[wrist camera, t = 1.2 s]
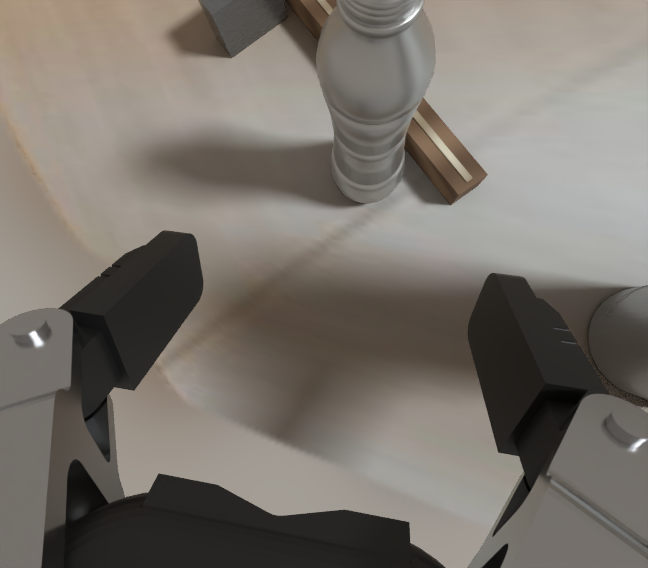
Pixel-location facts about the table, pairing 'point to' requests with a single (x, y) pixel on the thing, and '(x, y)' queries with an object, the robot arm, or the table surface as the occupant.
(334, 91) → the plastic bottle
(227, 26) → the metal end stop
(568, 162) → the table surface
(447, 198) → the walnut rail
